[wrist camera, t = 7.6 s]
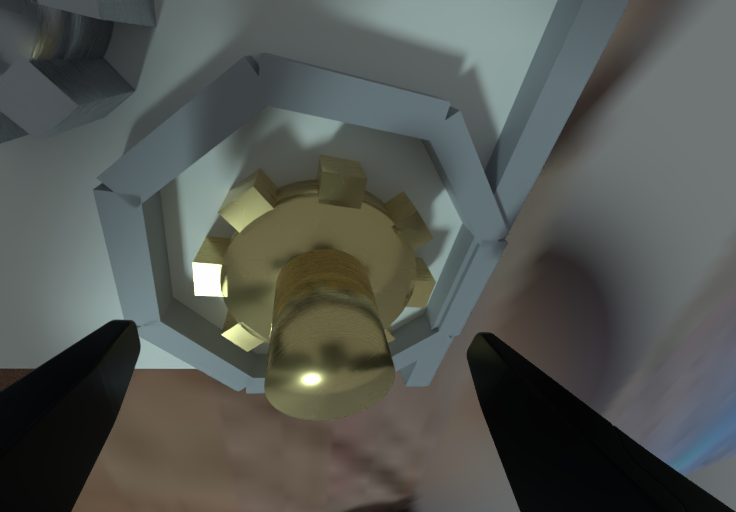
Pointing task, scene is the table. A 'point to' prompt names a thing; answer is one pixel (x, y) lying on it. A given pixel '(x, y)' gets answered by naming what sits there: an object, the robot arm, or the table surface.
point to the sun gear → (61, 63)
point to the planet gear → (317, 284)
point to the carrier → (286, 160)
